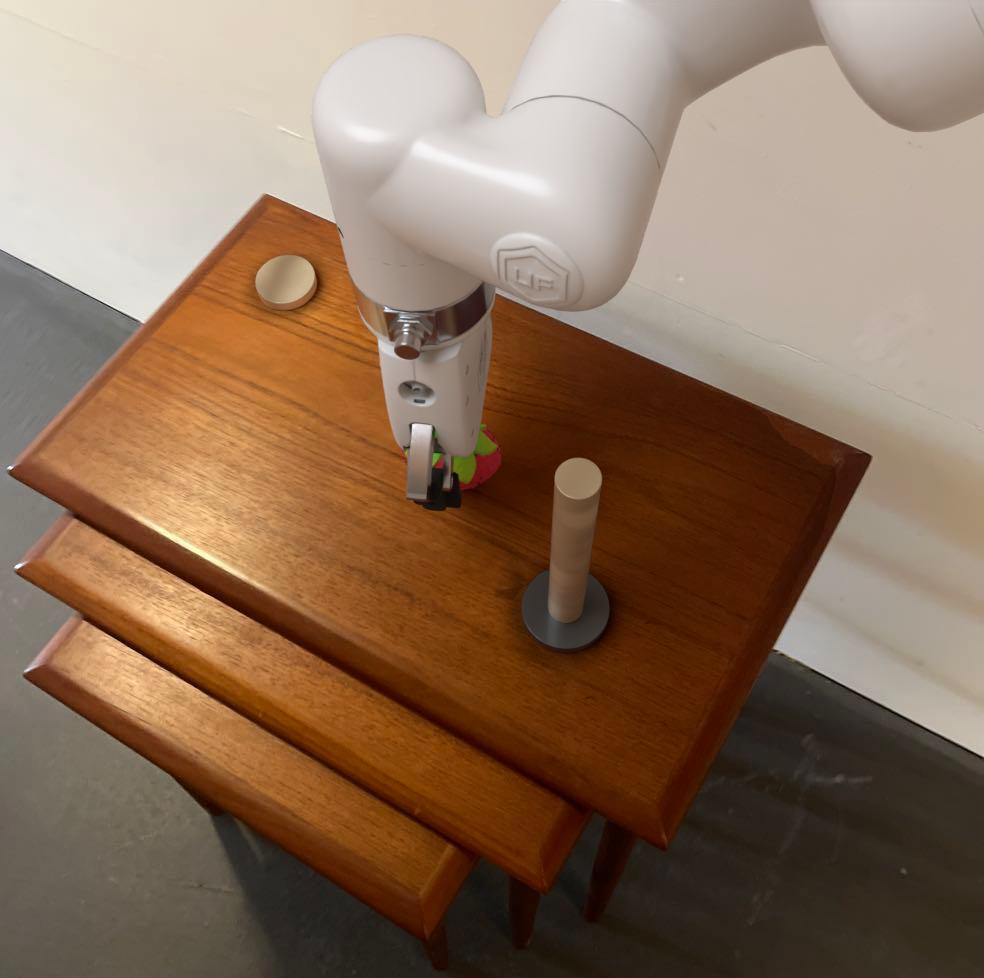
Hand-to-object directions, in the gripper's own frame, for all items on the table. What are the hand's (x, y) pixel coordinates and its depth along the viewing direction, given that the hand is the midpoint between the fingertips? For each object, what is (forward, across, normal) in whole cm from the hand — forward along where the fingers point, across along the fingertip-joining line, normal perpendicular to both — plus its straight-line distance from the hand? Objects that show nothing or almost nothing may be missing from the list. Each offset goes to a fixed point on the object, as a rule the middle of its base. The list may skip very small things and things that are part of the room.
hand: (448, 439), depth 67 cm
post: (+6, -9, -9) cm, 14 cm away
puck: (+6, +17, +16) cm, 24 cm away
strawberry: (+6, 0, 0) cm, 6 cm away
